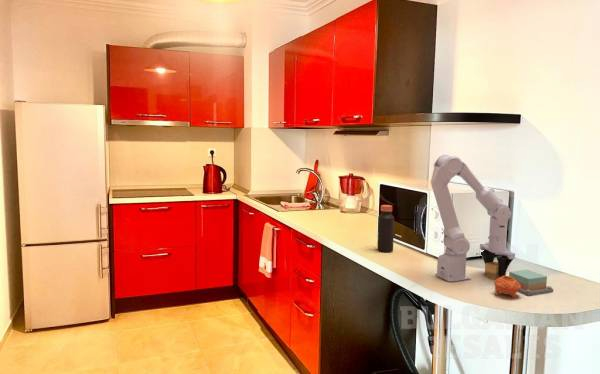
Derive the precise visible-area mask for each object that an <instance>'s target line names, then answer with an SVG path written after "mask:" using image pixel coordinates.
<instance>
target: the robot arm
mask: <svg viewBox="0 0 600 374" xmlns="http://www.w3.org/2000/svg"><path fill="white" fill-rule="evenodd" d="M456 176H458V177H460V178H461V179H462V180H463V181H464V182H465V183H466V184H467V185H468V186H469V187H470V188H471V189H472V190H473V191H474V192H475V198H476V200H477V201H478V202H479V203H480V204H481V206H482V207H483V208H484V209H485V210H486V211H487V215H488V216H490V218H489V233H488V234H489V245H487V244H479V250H480V249H481V250H484V251H483V252H481V255H482V257H483V258H482V259H483V262H484V264H485V263H489V262H495V257H496V260H497V261H496V262H498V266H499V276H505V273H506V274H507V270H508V268H509V266H510V264H511V263H512V261H514V260H515V259H516V253H515V252H512V251H510V250H509V249H508V248H507V231H508V224H509V223H508V222H509V220H510V218H511V217H512V215H513V214H512V212H511V209H510V207H509V206H508V205H507V204H503V203H504V201H503V199H502V198H499V197H498V195H497V194H495V189H494V188H490V187H488V186H484V185H483V184H482V183H481V181H479V179H478V178H477V176H476V175H475V174H474V172H473V171H472V170H471V169H470V168H469V166H468V165H467V164H466V163H465V162H464V161H462V159H461V158H460V157H458V156H455V155H448V154H442V155H440V156H439V157H437V158H436V160H435V161H434V163H433V170H432V174H431V179H430V185H431V188H432V191H433V194H434V195H433V196H434V198H435V201H436V205H437V209H438V211H439V215H440V218H441V222H442V226H443V228H444V229H443V231H442V233H443V239H442V240H443V245H444V246H445V252H444V253H443V254H441V255H439V256H438V258H437V266H436V267H437V268H436V273H435V276H436V277H438V278H441V279H442V280H445V281H446V282H447V281H448V282H449V283H451V282H452V283H453V282H458V281H465V280H471V278H472V277H470V276H468V275H467V274H466V271H467V269H466V268H467V254H468V252H469V251H470V247H471V246H470V245H471V243H470V241H469V240H468V239H467V238H466V237H465V234H464V232H463V230H462V229H461V226H460V224H459V221H458V218H457V212H456V211H455V206H454V204H453V201H452V200H453V199H452V196H451V194H450V190H449V186H448V184H449V183H450V182H451V180H452V179H453V178H454V177H456ZM496 255H499V256H496Z"/></svg>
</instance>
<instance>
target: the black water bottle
mask: <svg viewBox="0 0 600 374" xmlns="http://www.w3.org/2000/svg"><path fill="white" fill-rule="evenodd" d="M392 213H393V205H391V204H382V205H380V214H379V216H378V217H377V218H378V219H377V243H376V244H377V251H378V252H380V253H392V252H393V251H394V238H395V237H394V232H395V230H394V229H395V217H394V215H393V214H392Z"/></svg>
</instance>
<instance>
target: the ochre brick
mask: <svg viewBox="0 0 600 374" xmlns="http://www.w3.org/2000/svg"><path fill="white" fill-rule="evenodd" d="M505 276H507V272H506V273H505ZM484 277H486V278H489V279H491V280H493V279H494V281H495V280H497V279H498V278H500V277H502V276H499V266H498V261H493V262H489V263H485V262H484Z"/></svg>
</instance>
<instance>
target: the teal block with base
mask: <svg viewBox="0 0 600 374" xmlns="http://www.w3.org/2000/svg"><path fill="white" fill-rule="evenodd" d="M508 273H509V274H508V276H509V277H513V278H515V280H516V281H517V282H518V283H519V284H520V286H521V289H520V290H519V291H518V292H517V293H520V294H523V295H525V296H527V297H531V296H537V295H543V294H549V293H553V292H554V288H553V287H552V286H551V285H548V286H547V281H548V276H547V275H545V274H541V273H540V272H539V273H538V272H535V271H532V270H530V269H521V270H520V269H519V270H513V271H509V272H508Z"/></svg>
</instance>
